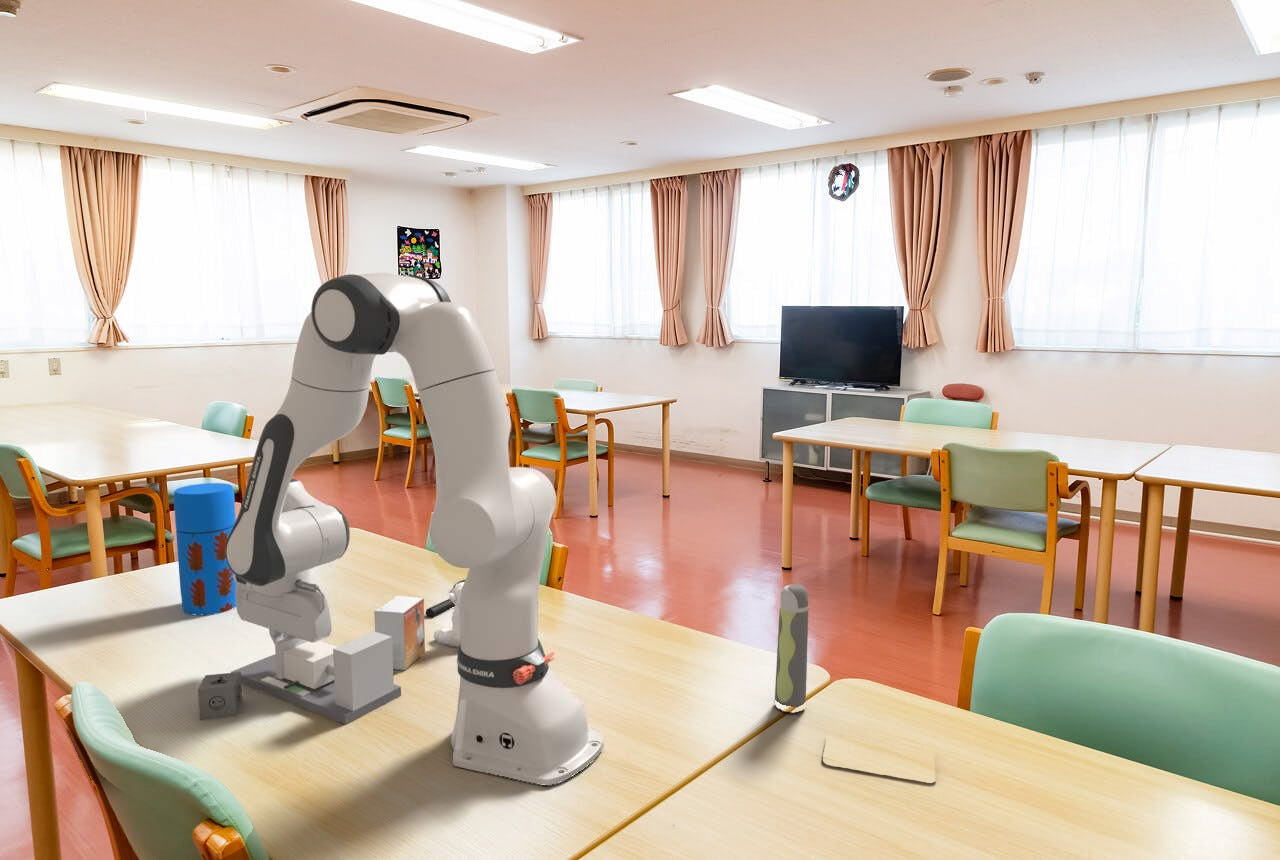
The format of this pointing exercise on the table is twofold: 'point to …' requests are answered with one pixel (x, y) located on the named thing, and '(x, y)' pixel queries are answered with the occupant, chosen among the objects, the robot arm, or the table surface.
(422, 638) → the small box
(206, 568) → the thermos
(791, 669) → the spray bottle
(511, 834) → the table surface
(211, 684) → the dice cube
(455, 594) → the white creature statuette
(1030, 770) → the table surface
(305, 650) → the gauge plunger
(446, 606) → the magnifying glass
